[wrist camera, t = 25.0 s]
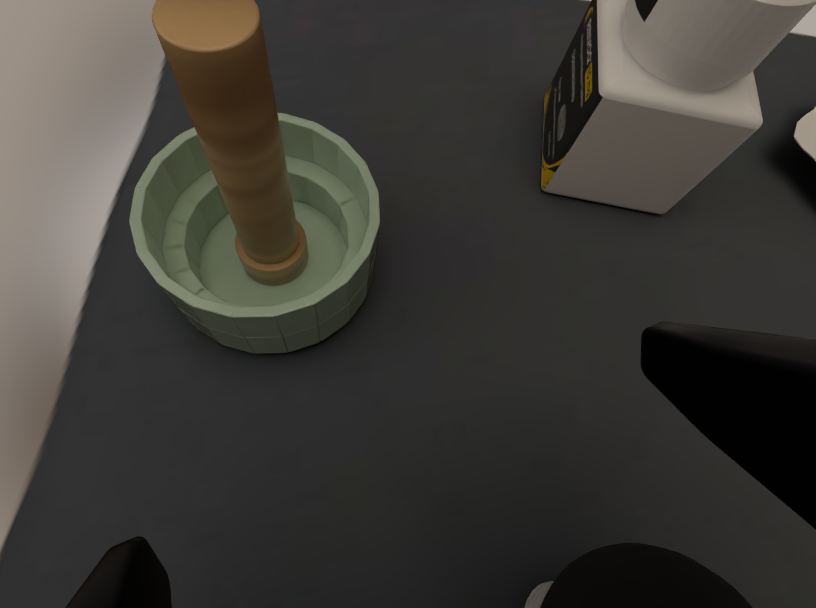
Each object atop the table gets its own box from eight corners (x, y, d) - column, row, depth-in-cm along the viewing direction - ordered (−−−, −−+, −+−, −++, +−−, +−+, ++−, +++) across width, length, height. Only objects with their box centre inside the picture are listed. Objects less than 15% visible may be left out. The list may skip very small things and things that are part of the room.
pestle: (306, 286, 22) (267, 65, 11) (238, 285, 21) (124, 54, 10) (309, 229, 23) (277, -25, 12) (244, 226, 23) (148, -37, 12)
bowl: (376, 354, 22) (385, 314, 17) (164, 360, 20) (111, 319, 16) (369, 187, 25) (374, 116, 20) (186, 183, 24) (148, 107, 19)
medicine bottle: (542, 96, 29) (663, -154, 18) (656, 120, 29) (842, -111, 18) (538, 193, 26) (679, -33, 15) (664, 218, 26) (890, 15, 15)
